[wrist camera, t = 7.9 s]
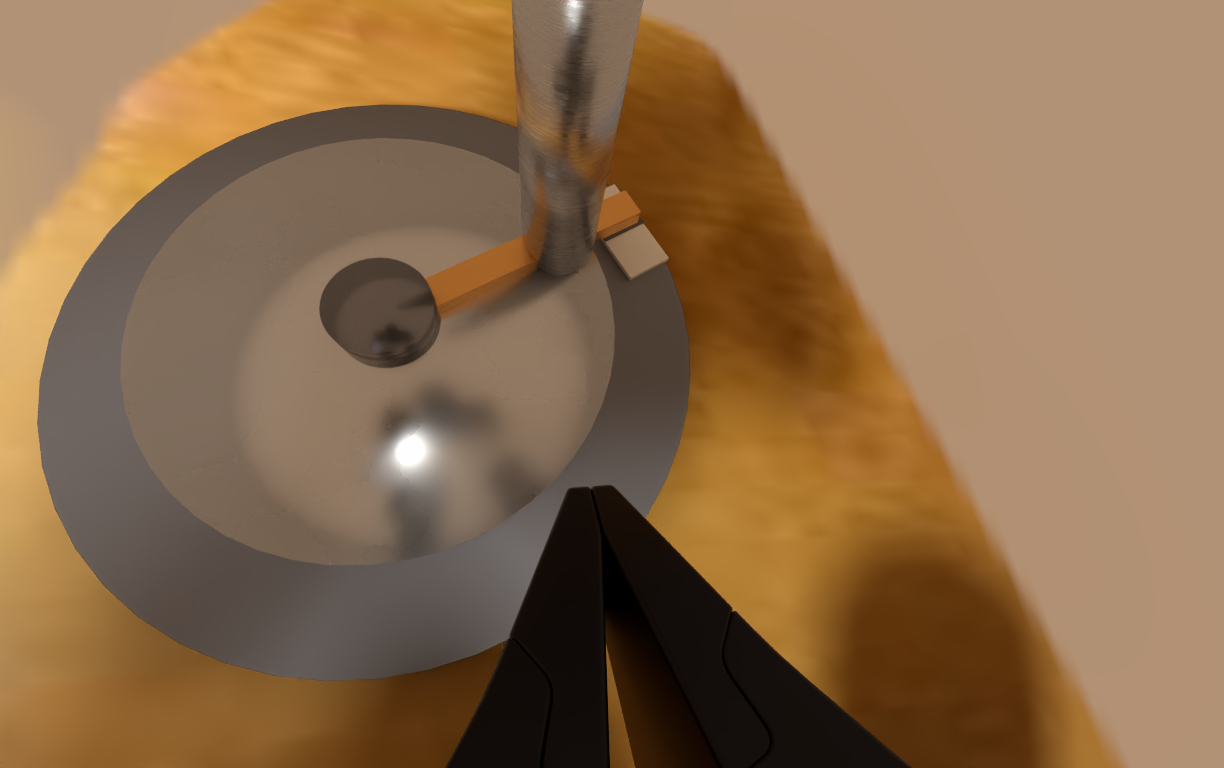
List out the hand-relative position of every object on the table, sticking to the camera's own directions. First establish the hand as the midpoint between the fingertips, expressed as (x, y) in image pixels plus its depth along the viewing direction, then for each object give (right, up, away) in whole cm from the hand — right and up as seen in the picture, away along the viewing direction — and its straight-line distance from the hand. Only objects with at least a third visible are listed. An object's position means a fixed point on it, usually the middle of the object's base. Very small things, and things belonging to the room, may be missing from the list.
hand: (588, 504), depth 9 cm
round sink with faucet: (-6, +4, +7) cm, 10 cm away
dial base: (-7, +3, +8) cm, 11 cm away
